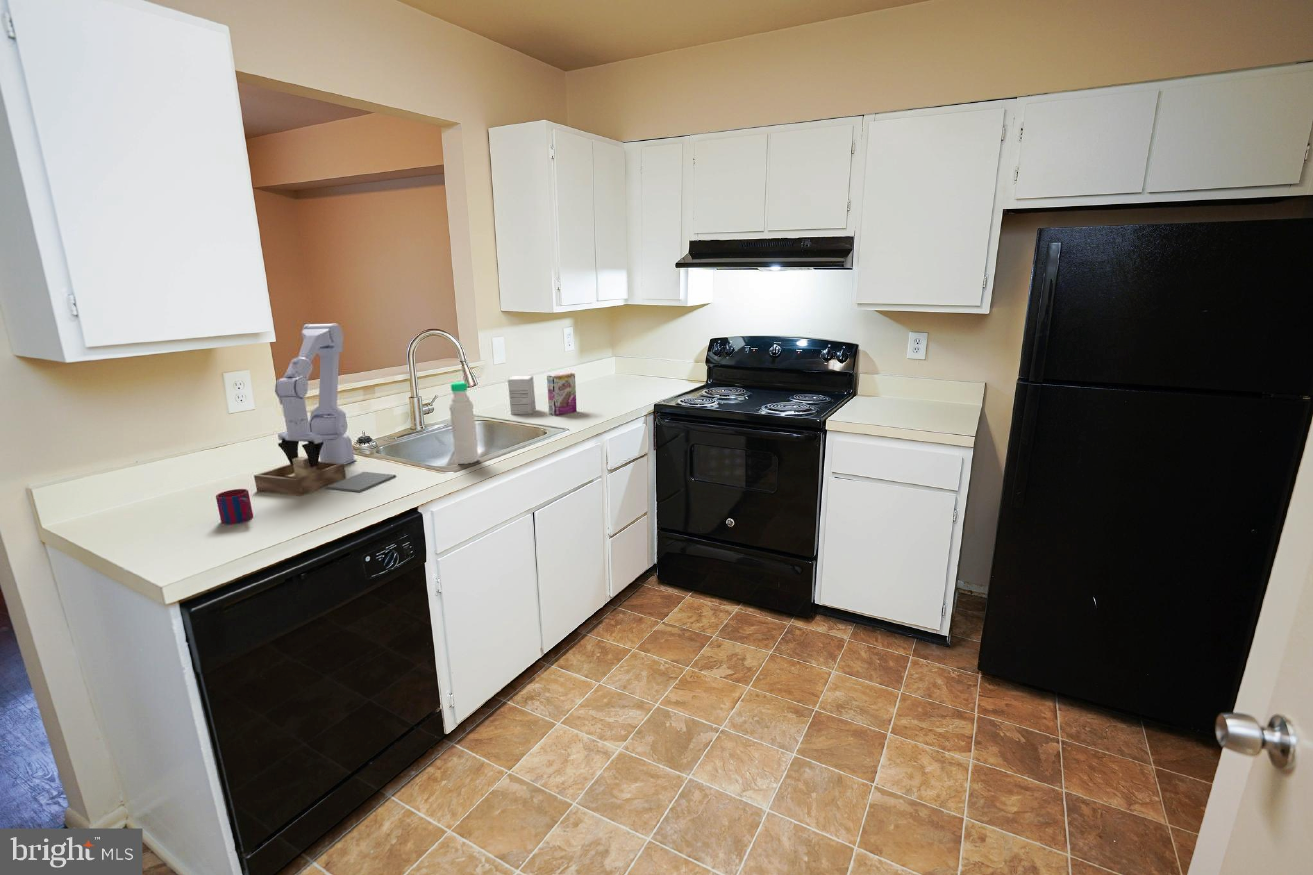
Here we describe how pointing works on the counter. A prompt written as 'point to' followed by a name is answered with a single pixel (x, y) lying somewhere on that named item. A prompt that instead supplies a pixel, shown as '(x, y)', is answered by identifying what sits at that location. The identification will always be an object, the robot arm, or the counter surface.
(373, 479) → the grey mat
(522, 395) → the supplement box
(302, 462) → the birch block
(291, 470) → the walnut crate
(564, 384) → the candy bar box
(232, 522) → the mug
